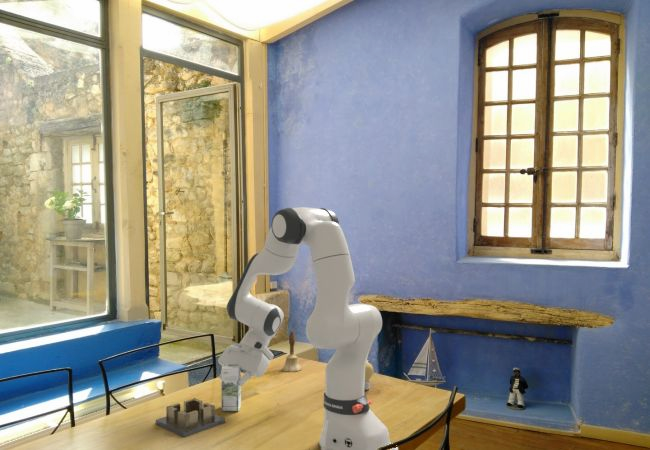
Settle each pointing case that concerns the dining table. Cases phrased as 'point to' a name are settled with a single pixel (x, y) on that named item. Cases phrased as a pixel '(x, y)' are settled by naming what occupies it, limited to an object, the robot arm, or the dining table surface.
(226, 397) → the syrup box
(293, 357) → the hand bell
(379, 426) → the robot arm
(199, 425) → the metal jaw fixture
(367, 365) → the light bulb
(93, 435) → the dining table surface
